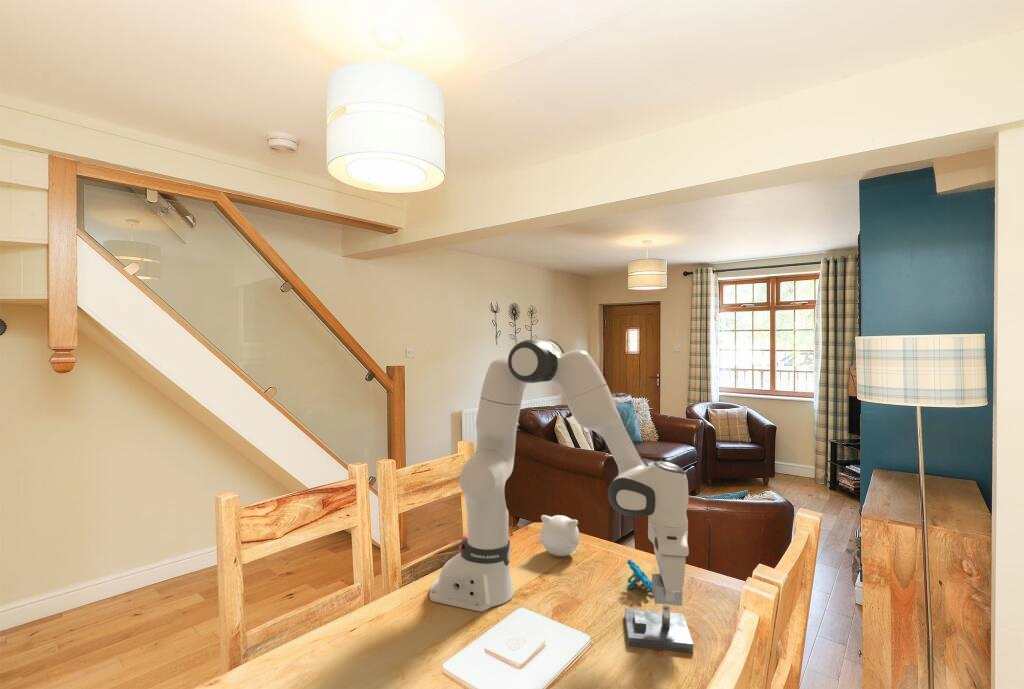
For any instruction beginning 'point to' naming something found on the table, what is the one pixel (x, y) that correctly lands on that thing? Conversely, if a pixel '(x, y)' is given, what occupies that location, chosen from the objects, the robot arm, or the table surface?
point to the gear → (638, 576)
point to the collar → (663, 592)
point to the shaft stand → (658, 630)
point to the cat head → (559, 535)
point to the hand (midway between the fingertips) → (666, 590)
